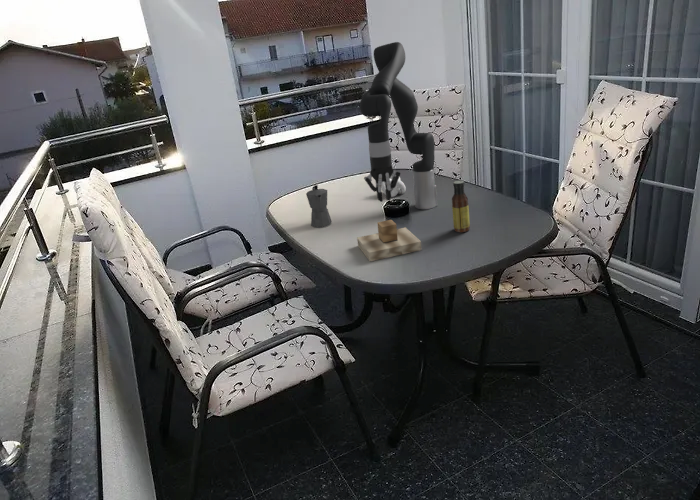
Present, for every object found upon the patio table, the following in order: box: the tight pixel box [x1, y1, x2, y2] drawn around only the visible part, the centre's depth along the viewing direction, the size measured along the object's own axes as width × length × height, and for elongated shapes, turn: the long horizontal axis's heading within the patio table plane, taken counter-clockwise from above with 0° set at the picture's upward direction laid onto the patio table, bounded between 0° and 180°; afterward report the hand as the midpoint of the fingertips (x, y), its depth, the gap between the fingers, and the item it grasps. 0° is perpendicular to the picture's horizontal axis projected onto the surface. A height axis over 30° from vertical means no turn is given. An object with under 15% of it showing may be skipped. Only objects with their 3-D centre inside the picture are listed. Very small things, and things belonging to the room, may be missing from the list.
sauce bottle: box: [451, 180, 471, 233], centre depth 193 cm, size 7×6×20 cm
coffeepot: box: [305, 184, 333, 229], centre depth 219 cm, size 15×9×18 cm, turn 13°
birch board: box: [356, 226, 422, 262], centre depth 189 cm, size 20×16×4 cm
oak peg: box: [376, 219, 398, 243], centre depth 187 cm, size 6×6×10 cm
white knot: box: [381, 176, 407, 198], centre depth 246 cm, size 11×12×9 cm
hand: (384, 200), depth 182 cm, fingers closed
